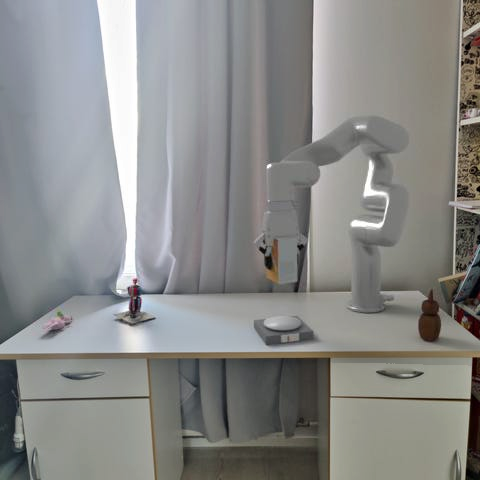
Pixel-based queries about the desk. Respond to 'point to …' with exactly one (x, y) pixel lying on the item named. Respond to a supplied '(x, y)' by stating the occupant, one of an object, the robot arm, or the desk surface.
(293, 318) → the scale
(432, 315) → the wooden figurine
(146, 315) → the statue
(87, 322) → the desk surface
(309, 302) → the desk surface
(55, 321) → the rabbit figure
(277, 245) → the small box
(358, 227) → the robot arm
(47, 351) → the desk surface
